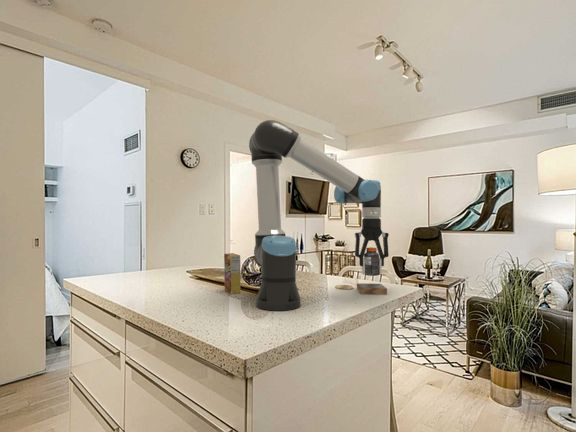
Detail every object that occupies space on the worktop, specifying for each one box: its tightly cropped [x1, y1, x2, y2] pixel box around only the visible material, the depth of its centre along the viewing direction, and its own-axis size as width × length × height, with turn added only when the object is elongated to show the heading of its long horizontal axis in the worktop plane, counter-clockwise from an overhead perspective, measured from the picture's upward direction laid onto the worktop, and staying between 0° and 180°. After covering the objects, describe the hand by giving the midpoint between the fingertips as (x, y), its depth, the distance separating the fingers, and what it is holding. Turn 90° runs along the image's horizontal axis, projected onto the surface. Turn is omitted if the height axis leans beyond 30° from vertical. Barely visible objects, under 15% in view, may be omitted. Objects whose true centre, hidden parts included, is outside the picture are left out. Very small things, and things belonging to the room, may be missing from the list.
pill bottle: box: [363, 247, 380, 277], centre depth 136 cm, size 6×6×11 cm
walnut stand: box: [356, 282, 388, 296], centre depth 136 cm, size 10×10×3 cm
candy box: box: [223, 252, 241, 295], centre depth 134 cm, size 9×4×15 cm, turn 28°
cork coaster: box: [334, 284, 354, 291], centre depth 144 cm, size 8×8×1 cm
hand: (371, 274), depth 136 cm, fingers closed on pill bottle, 6 cm apart
